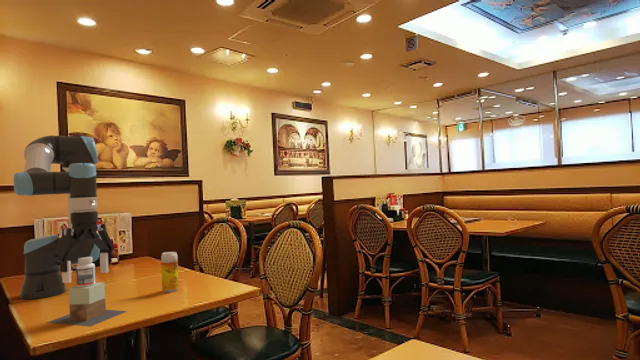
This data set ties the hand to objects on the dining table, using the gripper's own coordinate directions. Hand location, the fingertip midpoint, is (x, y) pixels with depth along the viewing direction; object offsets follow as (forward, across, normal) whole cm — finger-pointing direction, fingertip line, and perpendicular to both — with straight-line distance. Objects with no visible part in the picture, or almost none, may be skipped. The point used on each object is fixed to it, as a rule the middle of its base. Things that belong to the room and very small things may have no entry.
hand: (86, 277), depth 125 cm
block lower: (+13, 0, 0) cm, 13 cm away
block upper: (+8, 0, 0) cm, 8 cm away
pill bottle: (+3, 0, 0) cm, 3 cm away
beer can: (+13, +33, -5) cm, 36 cm away
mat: (+13, 0, 0) cm, 13 cm away
